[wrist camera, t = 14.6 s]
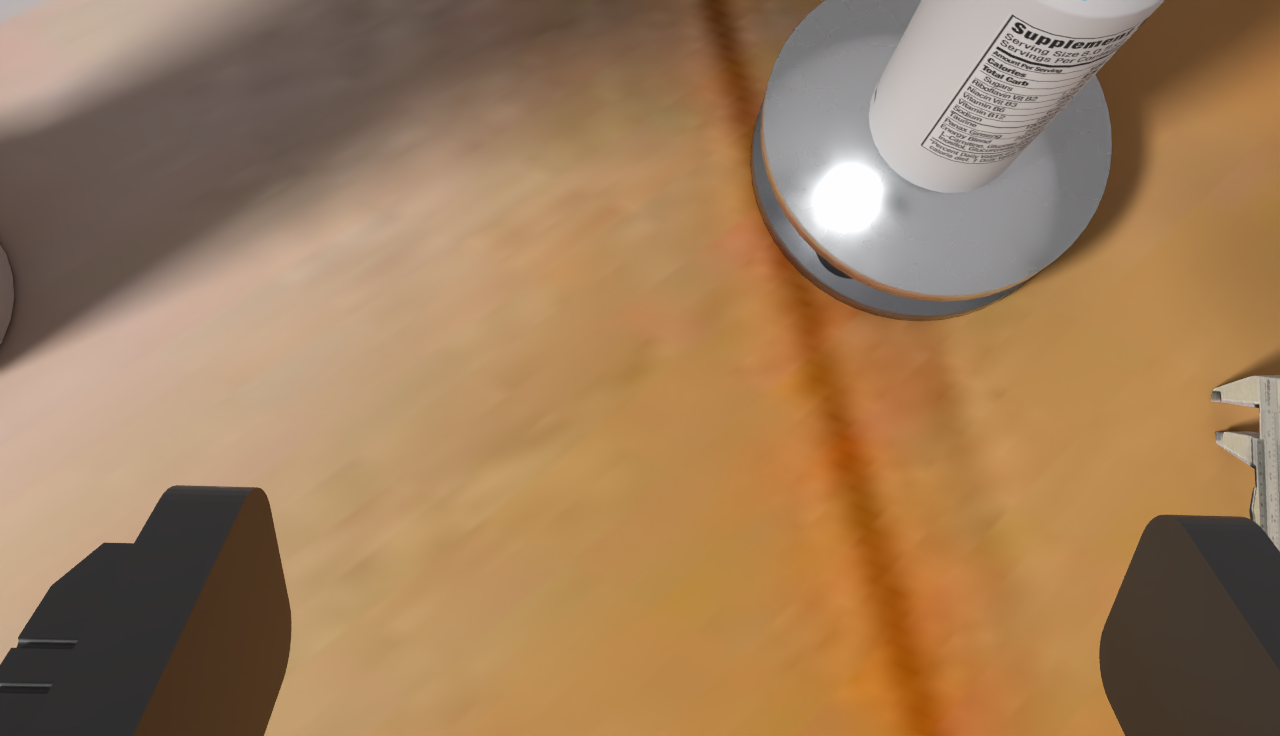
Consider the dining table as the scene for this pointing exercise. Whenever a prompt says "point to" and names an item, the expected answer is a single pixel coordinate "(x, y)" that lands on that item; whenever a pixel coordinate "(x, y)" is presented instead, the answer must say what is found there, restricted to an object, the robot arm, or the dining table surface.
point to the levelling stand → (894, 207)
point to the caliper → (1258, 445)
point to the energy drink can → (988, 81)
